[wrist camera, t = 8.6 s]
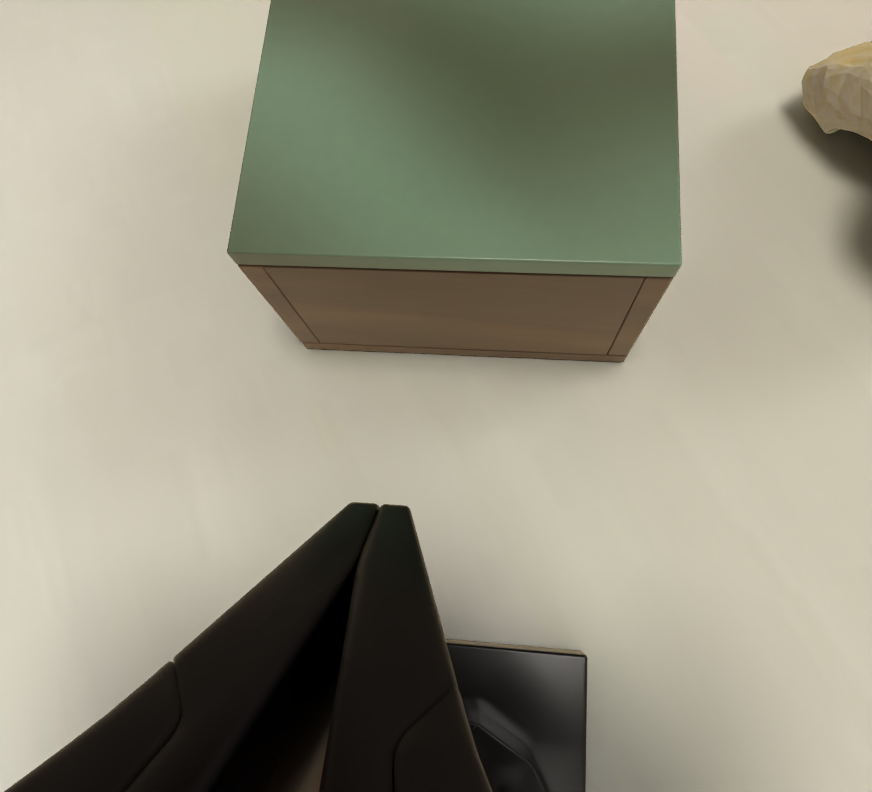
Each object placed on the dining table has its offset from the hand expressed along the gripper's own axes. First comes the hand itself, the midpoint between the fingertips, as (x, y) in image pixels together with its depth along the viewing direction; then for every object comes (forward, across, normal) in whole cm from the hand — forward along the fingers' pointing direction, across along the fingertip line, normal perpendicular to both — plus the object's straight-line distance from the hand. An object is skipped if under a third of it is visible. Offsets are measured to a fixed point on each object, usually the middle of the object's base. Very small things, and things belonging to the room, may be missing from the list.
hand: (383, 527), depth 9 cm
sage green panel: (+14, 0, -6) cm, 15 cm away
